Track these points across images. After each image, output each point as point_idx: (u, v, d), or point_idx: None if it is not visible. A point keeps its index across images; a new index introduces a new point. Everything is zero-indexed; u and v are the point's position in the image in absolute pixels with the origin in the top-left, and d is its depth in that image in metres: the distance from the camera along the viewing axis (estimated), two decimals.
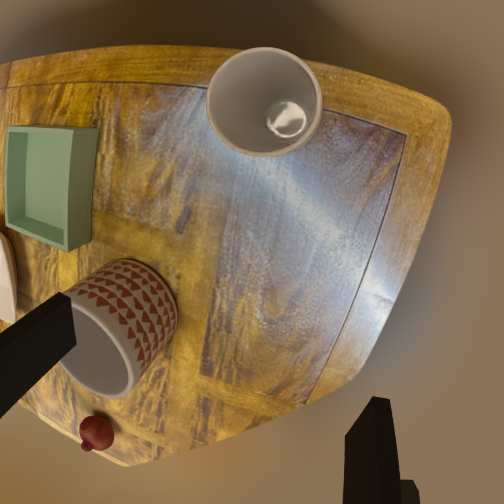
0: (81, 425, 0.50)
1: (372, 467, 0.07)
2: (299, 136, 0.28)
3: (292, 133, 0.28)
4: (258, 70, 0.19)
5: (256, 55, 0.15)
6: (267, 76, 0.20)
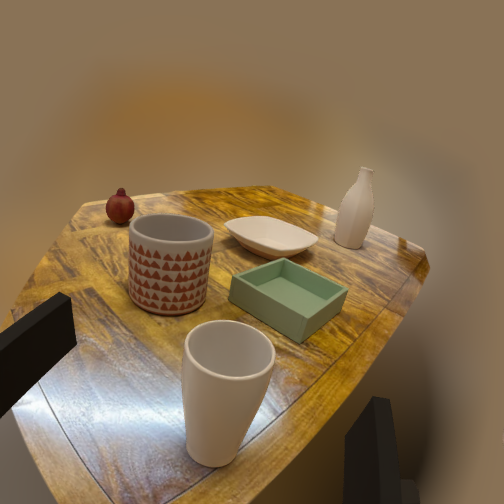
0: (133, 204, 0.78)
1: (372, 467, 0.07)
2: None
3: None
4: None
5: None
6: None
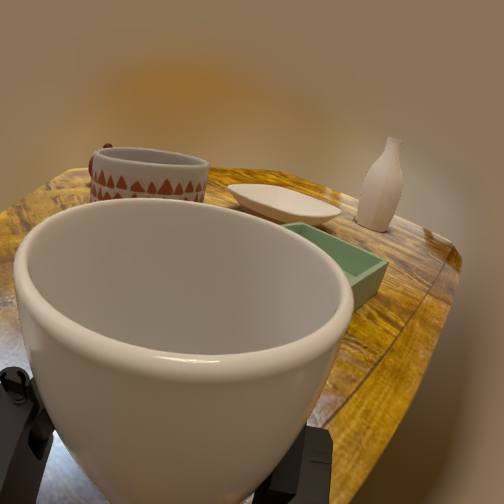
0: None
1: None
2: None
3: None
4: None
5: None
6: None
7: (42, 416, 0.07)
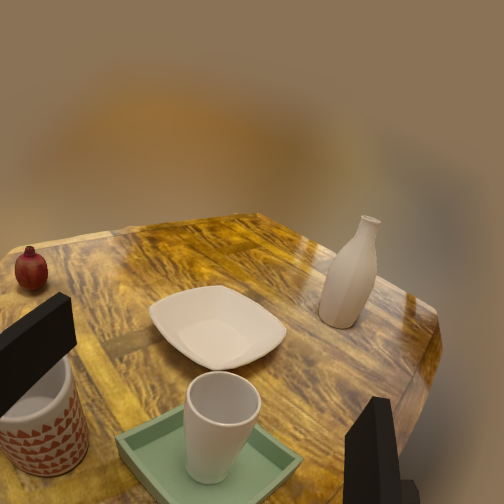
0: (44, 267, 0.53)
1: (372, 467, 0.07)
2: None
3: None
4: None
5: None
6: None
7: None
